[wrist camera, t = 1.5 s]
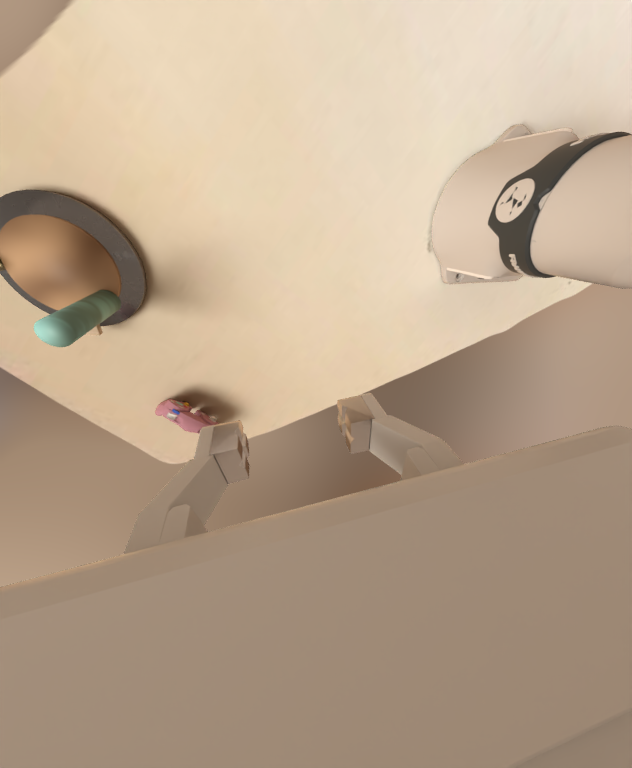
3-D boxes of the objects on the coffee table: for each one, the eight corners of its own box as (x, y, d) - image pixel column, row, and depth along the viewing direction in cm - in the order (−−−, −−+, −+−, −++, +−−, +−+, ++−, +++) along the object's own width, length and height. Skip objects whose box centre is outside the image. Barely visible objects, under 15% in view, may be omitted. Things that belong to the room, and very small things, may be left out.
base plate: (135, 209, 27) (129, 209, 26) (154, 328, 34) (150, 333, 33) (-39, 172, 23) (-56, 169, 22) (25, 316, 30) (15, 321, 29)
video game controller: (219, 413, 47) (227, 426, 41) (205, 434, 46) (211, 449, 40) (169, 387, 42) (169, 398, 36) (152, 410, 41) (150, 424, 35)
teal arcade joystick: (-20, 272, 26) (-156, 300, 17) (32, 188, 23) (-97, 171, 15) (96, 339, 32) (39, 385, 23) (147, 279, 29) (105, 305, 21)
